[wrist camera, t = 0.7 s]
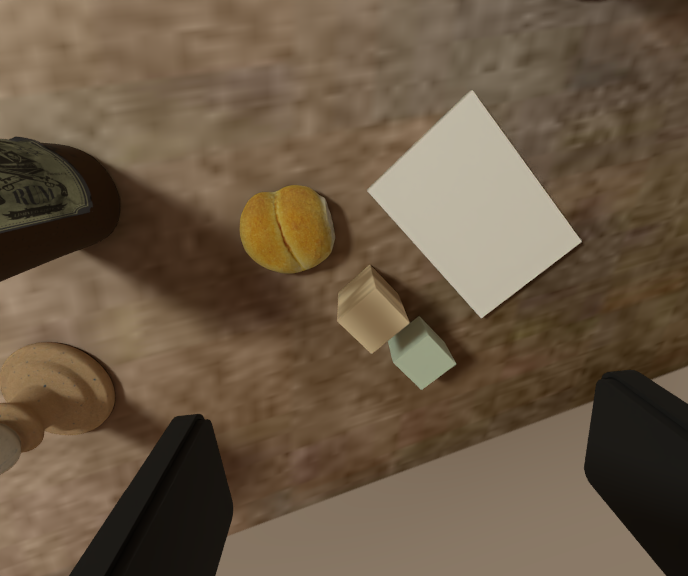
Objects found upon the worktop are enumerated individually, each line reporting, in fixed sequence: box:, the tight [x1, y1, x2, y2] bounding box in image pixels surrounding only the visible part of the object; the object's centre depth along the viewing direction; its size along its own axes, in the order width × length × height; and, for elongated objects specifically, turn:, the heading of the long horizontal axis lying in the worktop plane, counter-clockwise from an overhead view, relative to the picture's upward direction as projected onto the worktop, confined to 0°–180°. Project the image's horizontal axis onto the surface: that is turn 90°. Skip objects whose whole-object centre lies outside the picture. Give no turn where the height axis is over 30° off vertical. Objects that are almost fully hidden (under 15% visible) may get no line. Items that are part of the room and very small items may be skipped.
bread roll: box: [240, 185, 335, 274], centre depth 33 cm, size 8×9×4 cm
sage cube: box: [388, 316, 456, 390], centre depth 37 cm, size 4×4×4 cm
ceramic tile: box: [367, 90, 582, 318], centre depth 34 cm, size 12×18×1 cm, turn 43°
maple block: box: [337, 265, 410, 354], centre depth 34 cm, size 4×4×7 cm
